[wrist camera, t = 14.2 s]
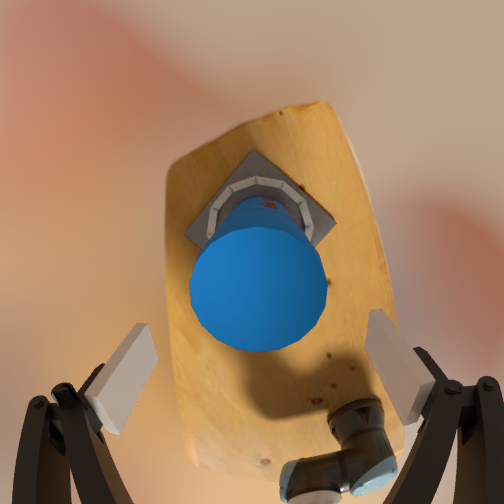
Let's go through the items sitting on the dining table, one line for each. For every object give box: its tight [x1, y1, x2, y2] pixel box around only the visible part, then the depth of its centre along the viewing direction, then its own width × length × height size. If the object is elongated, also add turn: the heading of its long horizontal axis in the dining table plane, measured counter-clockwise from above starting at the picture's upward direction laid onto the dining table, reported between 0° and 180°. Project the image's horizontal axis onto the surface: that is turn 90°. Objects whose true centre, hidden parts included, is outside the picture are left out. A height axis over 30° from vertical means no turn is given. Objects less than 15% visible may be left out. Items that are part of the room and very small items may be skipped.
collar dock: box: [184, 150, 337, 249], centre depth 44 cm, size 18×18×2 cm
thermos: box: [189, 196, 328, 352], centre depth 32 cm, size 11×11×25 cm
